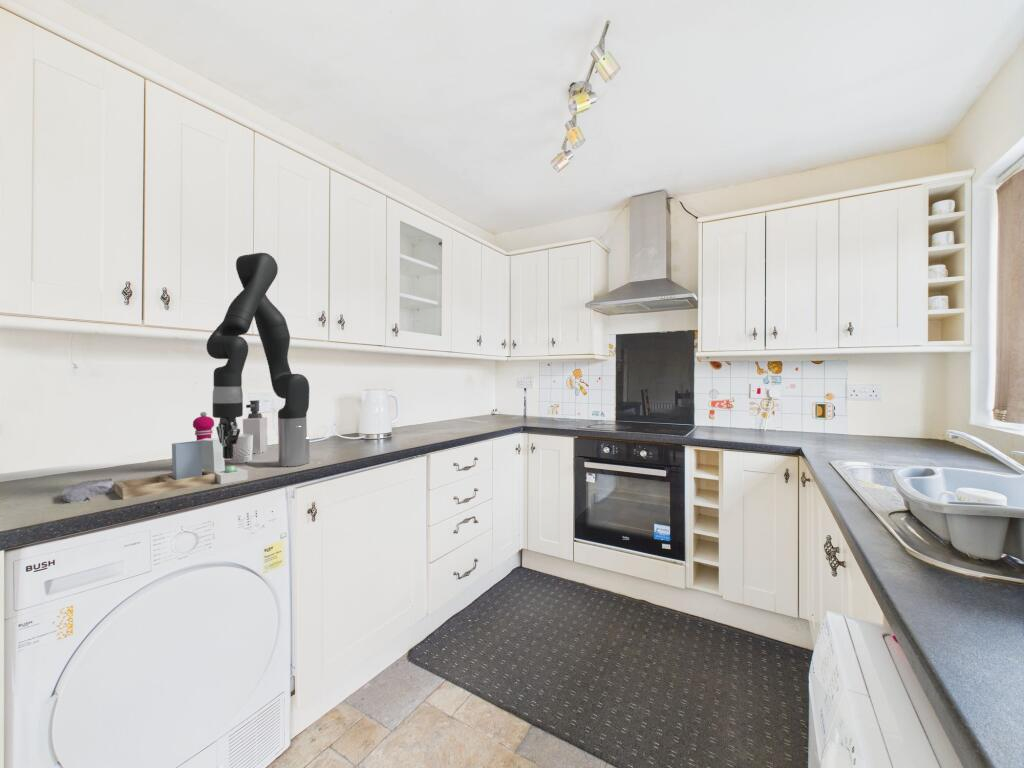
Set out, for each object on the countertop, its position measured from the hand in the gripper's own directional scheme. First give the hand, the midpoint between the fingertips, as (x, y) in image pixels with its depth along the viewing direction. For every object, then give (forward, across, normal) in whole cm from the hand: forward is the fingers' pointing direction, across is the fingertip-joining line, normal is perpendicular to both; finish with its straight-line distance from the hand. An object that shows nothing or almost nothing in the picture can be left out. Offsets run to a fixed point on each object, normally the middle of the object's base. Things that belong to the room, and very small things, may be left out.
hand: (227, 458), depth 124 cm
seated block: (+7, +5, +9) cm, 12 cm away
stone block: (+9, +15, +28) cm, 33 cm away
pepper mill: (+8, +29, -2) cm, 30 cm away
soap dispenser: (+7, +46, -24) cm, 52 cm away
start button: (+5, 0, -1) cm, 5 cm away
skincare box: (+8, +15, 0) cm, 17 cm away
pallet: (+8, +5, +14) cm, 16 cm away
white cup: (+8, +31, -14) cm, 35 cm away
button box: (+8, 0, -1) cm, 8 cm away
